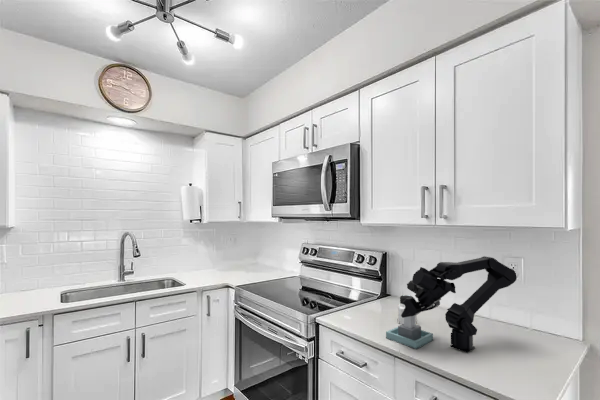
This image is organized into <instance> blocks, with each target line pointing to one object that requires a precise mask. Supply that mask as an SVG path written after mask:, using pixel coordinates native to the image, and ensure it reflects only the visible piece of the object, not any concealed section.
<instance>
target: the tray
mask: <svg viewBox="0 0 600 400" xmlns="http://www.w3.org/2000/svg"><path fill="white" fill-rule="evenodd" d="M385 336H386V337H385V339H388V340H390V341H393V342H395V343H398V344H401V345H404V346H406V347H409V348H412V349H415V350H417V349H420V348H421V347H423V346H426V345H427V344H428V343H431V342H432V341H434V333H432V332H429V331H426V330H422V329H421V338H420V339H418V340H416V341H414V340H411V339H409V338H406V337H403V336H400V335H398V326H397V327H394V328H392V329H389V330H387V331H386V332H385Z"/></svg>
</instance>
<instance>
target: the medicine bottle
mask: <svg viewBox="0 0 600 400" xmlns="http://www.w3.org/2000/svg"><path fill="white" fill-rule="evenodd" d="M409 297H412V298H414V297H413V296H412V295H408V294H403V295H400V296H399V298H400V299H399V302H400V303H399V304H397V310H398V311H397V313H398V314H397V319H398V322H399V324H400V325H402V324H404V318H402V316H401V314H402V313H403V311H404V309H405V305H404V304H403V301H404V300H405V299H406V298H409ZM415 325H417V315H415Z"/></svg>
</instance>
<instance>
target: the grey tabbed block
mask: <svg viewBox="0 0 600 400" xmlns="http://www.w3.org/2000/svg"><path fill="white" fill-rule="evenodd" d="M397 327H398V335H400V336H403V337H406V338H409V339H411V340H414V341H416V340H418V339H420V338H421V330H422V326H420V325H417V324H416V325H415V316H410V317H405V318H404V324H400V325H398V326H397Z"/></svg>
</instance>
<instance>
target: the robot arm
mask: <svg viewBox="0 0 600 400" xmlns="http://www.w3.org/2000/svg"><path fill="white" fill-rule="evenodd" d="M482 270H483V271H484V270H485V271H486V273H487V279H486V281H485V282H484V283H482V284H481V286H479V287H478V289H476V291H474V292H473V293H472V294H471V295H469V297H468V298H467V299H466V300H465V301H464V302H463V303H462V304H460V303H459V304H458V303H456V302H454V303H452V305H451V306H450V307H448V308H447V309H446V313H445V322H446V323H447V324H448V327H449V328H450V329H451V332H450V346H449V347H450V348H451V349H454V350H455V349H456V350H458V351H461V352H464V353H466V354H469V353H470V352H472V351H473V350H474V349H476V347H475V346H474V336H476V335H477V332H478V328H477V327H476V326H475V325H474V324H473V322H474V317H475V314H476V313H477V312H478V311H479V310H480V309H481V308H482V307H483V306H484V305H485V304H486V303H487V302H489V300H490V299H491V298H492V297H493V296H494V295H495V294H496V293H497V292H498V291H499V290H501V289H505V288H509V287H510V286H511V285H513V284H514V283H516V281H517V272H516V271H515V270H514V269H513V268H510V267H508V266H506V265H505V264H503V263H501V262H500V261H498V260H497V259H495V258H494V257H491V256H485V255H484V256H481V257H477V258H472V259H468V260H463V261H458V262H451V261H440V262H438V263H437V264H436V266H435V267H433V268H432V269H429V270H428V269H427V268H424V267H421V266H420V268H419V269H418V270H417V271H415V273H414V274H413V275H412V280H410V281H409V282H407V283H406V289H407V290H409V291H411V292H413V293H414V296H415V298H416V299H417V300H416V299H415V298H414V297H413V296H412V297H413V298H412V297H409V298H406V299H405V300H404V301H403V304H404V305H405V309H404V311H403V313H402V314H401V316H402V318H405V317H410V316H415V315H416V316H417V315H419V314H421V313H422V312H426V311H431V310H433V309H436V308H438V307H439V306H440V305H441V302H440V301H441V300H442V298H443V297H445V296H446V295H447V294H448V293H449V292H451V293H453V294H456V293H457V292H456V285H455V283H454V282H450V281H454V280H457V279H459V278H462V276H463V275H464V274H467V273H472V272H477V271H482ZM447 280H449V281H447Z"/></svg>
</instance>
